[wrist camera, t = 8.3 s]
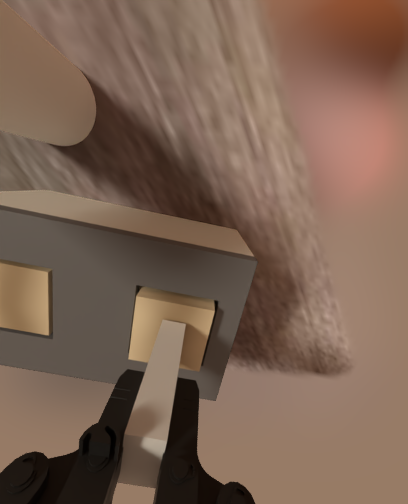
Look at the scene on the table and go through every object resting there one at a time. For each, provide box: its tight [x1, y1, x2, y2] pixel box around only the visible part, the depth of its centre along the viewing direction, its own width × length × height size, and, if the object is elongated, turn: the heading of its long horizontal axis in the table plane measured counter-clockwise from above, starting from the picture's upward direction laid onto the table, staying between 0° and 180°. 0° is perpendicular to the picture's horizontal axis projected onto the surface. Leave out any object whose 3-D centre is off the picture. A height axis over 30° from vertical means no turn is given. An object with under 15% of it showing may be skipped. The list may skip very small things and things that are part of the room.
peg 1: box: [0, 259, 53, 336], centre depth 18 cm, size 5×5×8 cm
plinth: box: [0, 190, 258, 401], centre depth 19 cm, size 20×12×10 cm, turn 78°
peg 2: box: [128, 286, 215, 371], centre depth 18 cm, size 5×5×8 cm
